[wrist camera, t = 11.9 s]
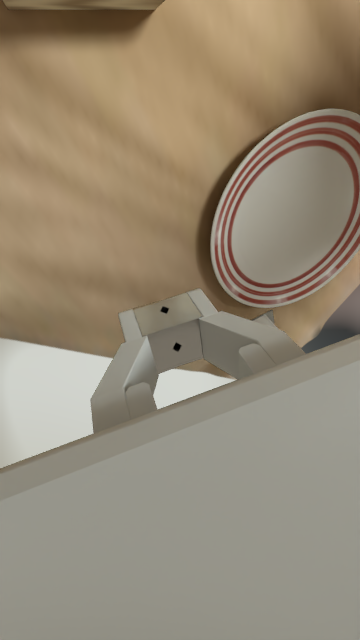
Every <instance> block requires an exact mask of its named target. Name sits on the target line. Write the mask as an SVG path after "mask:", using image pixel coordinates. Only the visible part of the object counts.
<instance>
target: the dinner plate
mask: <svg viewBox="0 0 360 640" xmlns="http://www.w3.org/2000/svg"><path fill="white" fill-rule="evenodd" d="M359 249H360V115H358V114H356V113H354V112H352V111H348V110H343V109H322V110H316V111H313V112H309V113H306V114H303V115H300V116H298V117H296V118H294V119H292V120H290V121H288V122H287V123H285V124H283V125H282V126H280V127H278V128H277V129H275V130H274V131H273V132H271V133H270V134H269V135H268V136H266V137H265V138H264V139H263V140H262V141H261V142H260V143H258V144H257V145H256V146H255V147H254V148H253V149H252V150H251V152H250V153H249V154H248V155H247V156H246V157H245V159H244V160H243V161H242V162H241V164H240V165H239V166H238V167H237V169H236V170H235V172H234V173H233V175H232V177H231V178H230V180H229V182H228V184H227V186H226V188H225V190H224V192H223V194H222V196H221V199H220V201H219V204H218V207H217V209H216V212H215V216H214V220H213V224H212V230H211V239H210V252H211V260H212V266H213V269H214V272H215V275H216V277H217V279H218V281H219V283H220V285H221V286H222V288H223V289H224V290H225V291H226V292H227V293H228V294H229V295H230V296H231V297H232V298H234V299H235V300H237V301H238V302H240V303H243V304H245V305H248V306H252V307H259V308H272V307H279V306H284V305H287V304H290V303H293V302H296V301H298V300H300V299H303V298H305V297H307V296H309V295H310V294H312V293H314V292H315V291H317V290H319V289H320V288H321V287H323V286H324V285H325V284H327V283H328V282H329V281H330V280H332V279H333V278H334V277H335V276H336V275H337V274H338V273H339V272H340V271H341V270H342V269H343V268H344V267H345V266H346V265H347V264H348V263H349V262H350V261H351V259H352V258H353V257H354V256H355V255H356V253H357V252H358V251H359Z"/></svg>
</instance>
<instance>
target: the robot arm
mask: <svg viewBox="0 0 360 640" xmlns="http://www.w3.org/2000/svg"><path fill="white" fill-rule="evenodd" d="M118 316H119V320H120V324H121V328H122V331H123V335H124V339H125V343H122V344H121V345H120V347H119V349H118V351H117V353H116V354H115V356H114V358H113V360H112V362H111V363H110V365H109V367H108V369H107V371H106V372H105V374H104V376H103V378H102V380H101V382H100V383H99V385H98V387H97V389H96V390H95V392H94V394H93V396H92V398H91V410H92V421H93V432H94V434H91V435H89V436H86V437H83V438H81V439H78V440H75V441H73V442H70V443H67V444H65V445H62V446H60V447H57V448H54V449H51V450H49V451H46V452H43V453H41V454H38V455H36V456H33V457H30V458H27V459H25V460H22V461H19V462H16V463H14V464H11V465H8V466H6V467H3V468H0V640H360V334H359V335H357V336H354V337H351V338H348V339H346V340H343V341H341V342H338V343H335V344H332V345H330V346H327V347H324V348H322V349H320V350H316V351H314V352H311V353H308V354H305V352H304V351H302V349H301V348H300V347H299V346H298V345H297V344H296V343H295V342H294V341H293V340H292V339H291V338H290V337H289V336H288V335H287V334H286V333H285V332H284V331H281V330H278V329H275V328H272V327H269V326H266V325H263V324H260V323H257V322H254V321H251V320H248V319H245V318H242V317H239V316H236V315H233V314H230V313H227V312H224V311H220V312H218V311H217V310H216V308H215V307H214V306H213V305H212V303H211V302H210V301H209V299H208V298H207V297H206V295H205V294H204V293H203V291H202V290H201V289H200V288H197V289H194V290H191V291H188V292H186V293H183V294H180V295H177V296H174V297H171V298H168V299H165V300H161V301H157V302H153V303H150V304H146V305H143V306H140V307H136V308H133V310H132V309H129V310H126V311H123V312H119V313H118ZM202 358H204V359H205V360H206V361H208V362H210V363H211V364H213V365H215V366H216V367H218V368H220V369H221V370H223V371H225V372H226V373H228V374H230V375H231V376H233V377H235V378H236V379H238V380H236V381H233V382H231V383H228V384H225V385H223V386H220V387H217V388H214V389H212V390H209V391H207V392H204V393H201V394H198V395H196V396H193V397H190V398H188V399H186V400H182V401H180V402H177V403H174V404H172V405H169V406H166V407H164V408H161V409H158V410H157V407H156V404H155V401H154V398H153V393H154V390H155V387H156V383H157V379H158V374H160V373H162V372H165V371H167V370H170V369H173V368H175V367H178V366H181V365H184V364H187V363H190V362H193V361H196V360H199V359H202Z"/></svg>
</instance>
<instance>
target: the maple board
mask: <svg viewBox="0 0 360 640" xmlns="http://www.w3.org/2000/svg"><path fill="white" fill-rule="evenodd" d="M164 1H165V0H3V2H4V4H5V5H6V7H7V9H8V10H156V9H157V8H158V7H159V6H160V5H161V4H162V3H163V2H164Z"/></svg>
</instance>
